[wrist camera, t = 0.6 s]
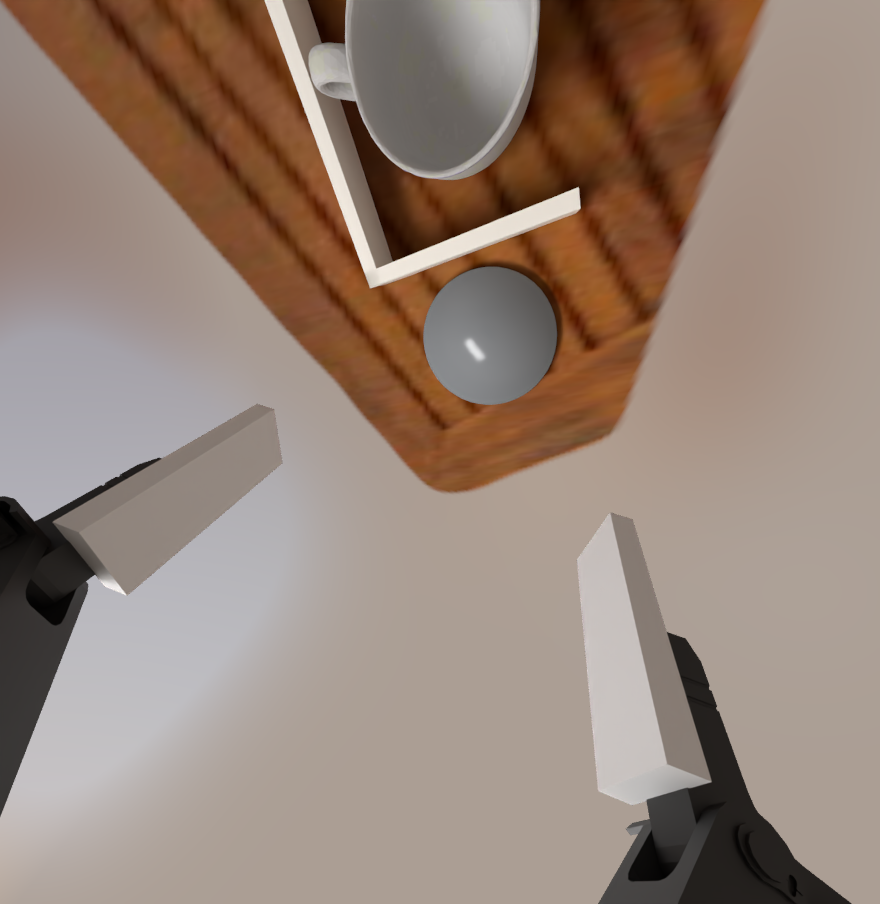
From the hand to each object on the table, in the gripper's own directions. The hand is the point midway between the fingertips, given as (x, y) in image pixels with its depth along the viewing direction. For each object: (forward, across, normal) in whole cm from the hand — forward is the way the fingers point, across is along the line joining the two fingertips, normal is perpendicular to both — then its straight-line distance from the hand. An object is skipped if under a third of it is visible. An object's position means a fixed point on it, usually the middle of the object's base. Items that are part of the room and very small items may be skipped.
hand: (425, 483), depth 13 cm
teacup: (+24, -8, +16) cm, 30 cm away
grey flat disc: (+24, -1, -1) cm, 24 cm away
